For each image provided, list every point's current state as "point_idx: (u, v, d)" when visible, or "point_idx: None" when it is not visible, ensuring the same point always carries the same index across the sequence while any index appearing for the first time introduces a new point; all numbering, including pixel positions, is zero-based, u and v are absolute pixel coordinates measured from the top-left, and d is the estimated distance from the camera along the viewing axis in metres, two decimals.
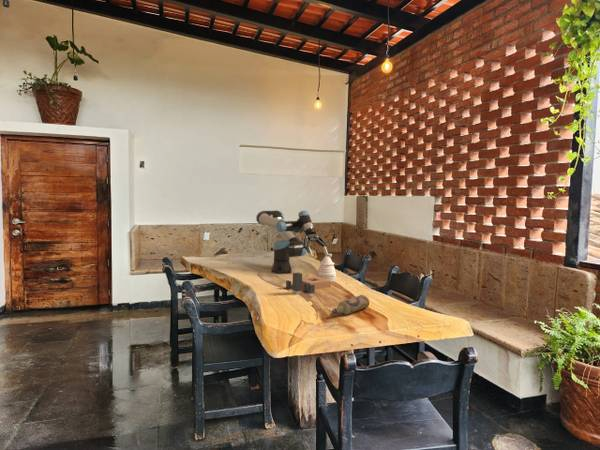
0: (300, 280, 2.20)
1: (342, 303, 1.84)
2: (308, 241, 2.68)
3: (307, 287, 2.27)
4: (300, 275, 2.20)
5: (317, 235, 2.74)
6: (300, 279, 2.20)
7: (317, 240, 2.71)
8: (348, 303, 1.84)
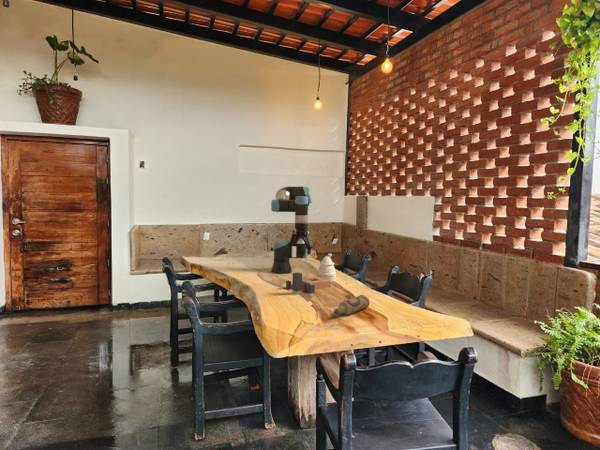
0: (300, 280, 2.20)
1: (343, 303, 1.84)
2: None
3: (307, 287, 2.27)
4: (300, 275, 2.20)
5: (305, 231, 2.17)
6: (300, 279, 2.20)
7: (303, 238, 2.19)
8: (349, 303, 1.84)
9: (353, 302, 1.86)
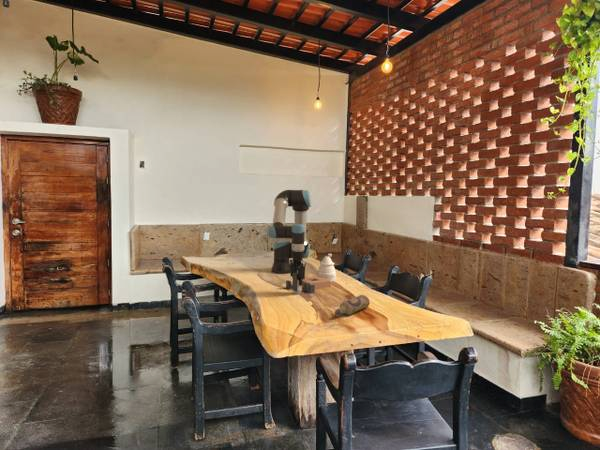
0: None
1: (344, 303, 1.83)
2: None
3: (307, 287, 2.27)
4: None
5: (301, 262, 2.16)
6: None
7: None
8: (350, 303, 1.83)
9: (354, 302, 1.86)
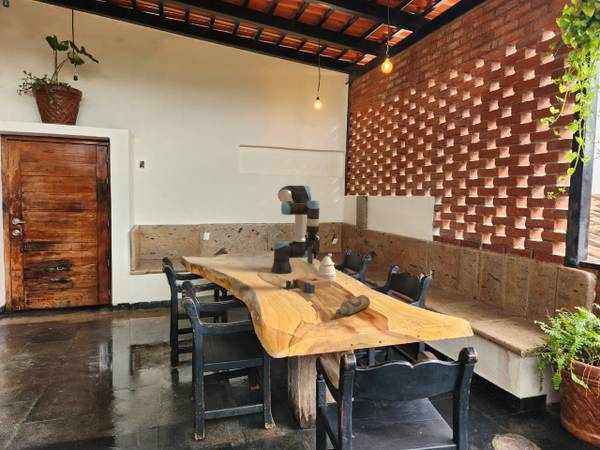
0: None
1: (345, 303, 1.83)
2: None
3: (307, 287, 2.27)
4: None
5: (316, 236, 2.28)
6: None
7: None
8: (351, 303, 1.83)
9: (355, 302, 1.86)
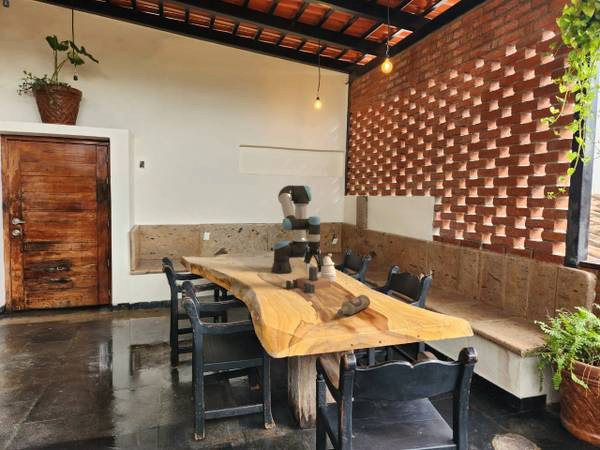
0: (316, 273, 2.39)
1: (346, 304, 1.83)
2: None
3: (307, 287, 2.27)
4: (316, 269, 2.39)
5: (317, 250, 2.35)
6: (316, 273, 2.39)
7: None
8: (352, 303, 1.83)
9: (355, 302, 1.86)
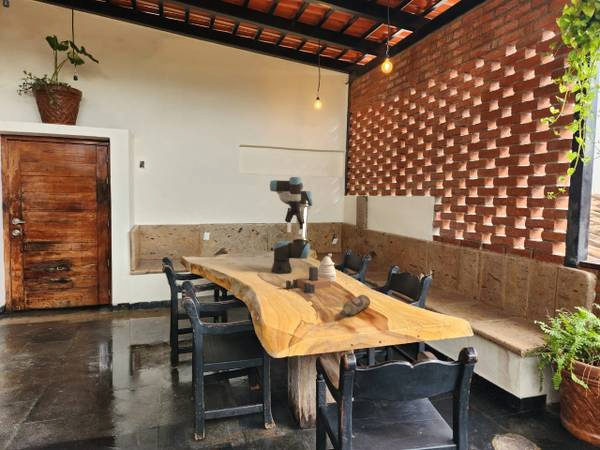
0: (316, 273, 2.39)
1: (348, 304, 1.83)
2: None
3: (307, 287, 2.27)
4: (316, 269, 2.39)
5: (298, 209, 2.42)
6: (316, 273, 2.39)
7: None
8: (354, 304, 1.83)
9: (357, 302, 1.86)
